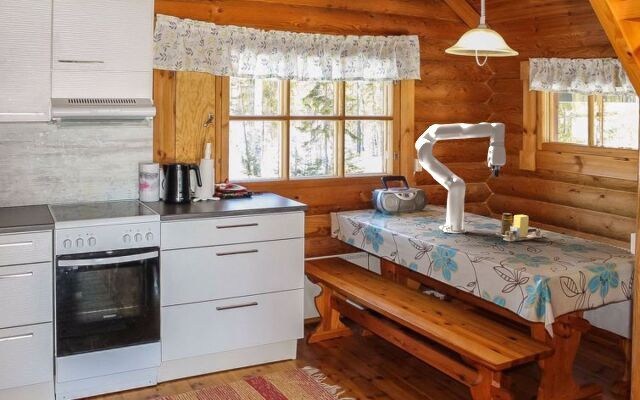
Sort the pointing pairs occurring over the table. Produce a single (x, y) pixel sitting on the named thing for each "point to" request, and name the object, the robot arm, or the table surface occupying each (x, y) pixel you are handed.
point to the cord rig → (510, 237)
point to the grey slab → (517, 232)
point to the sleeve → (521, 224)
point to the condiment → (505, 223)
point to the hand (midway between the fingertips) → (495, 176)
